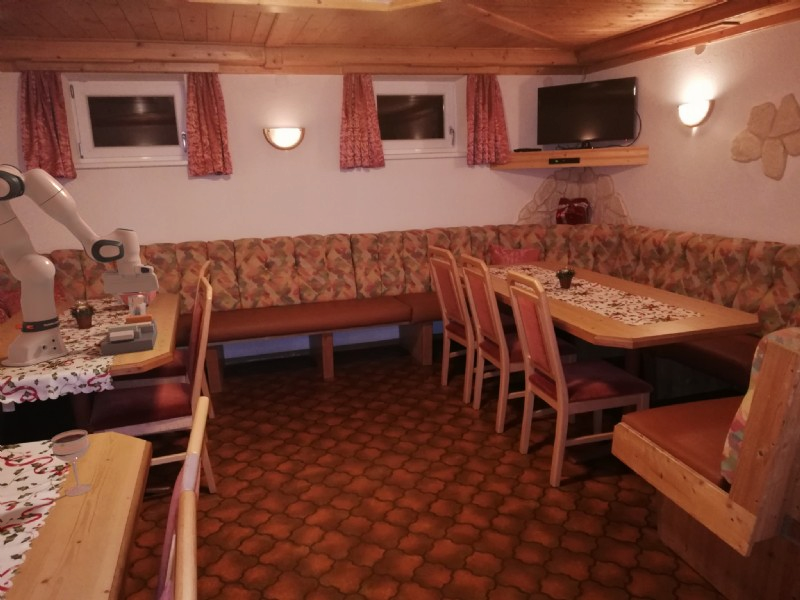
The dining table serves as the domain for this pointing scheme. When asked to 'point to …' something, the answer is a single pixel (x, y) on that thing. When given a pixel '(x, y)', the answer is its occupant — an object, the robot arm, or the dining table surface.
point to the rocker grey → (121, 335)
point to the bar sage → (123, 328)
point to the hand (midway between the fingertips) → (133, 303)
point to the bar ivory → (144, 324)
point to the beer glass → (137, 305)
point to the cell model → (125, 295)
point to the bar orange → (139, 319)
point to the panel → (131, 341)
